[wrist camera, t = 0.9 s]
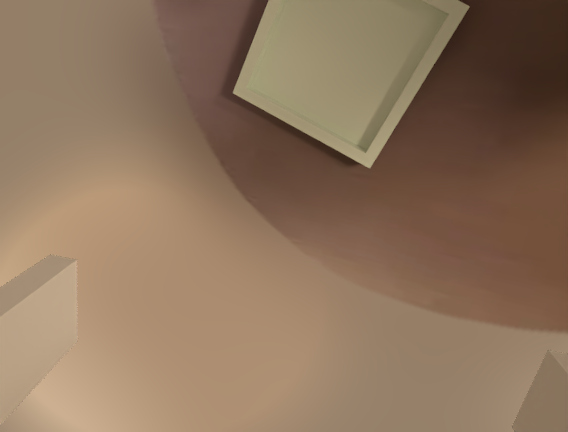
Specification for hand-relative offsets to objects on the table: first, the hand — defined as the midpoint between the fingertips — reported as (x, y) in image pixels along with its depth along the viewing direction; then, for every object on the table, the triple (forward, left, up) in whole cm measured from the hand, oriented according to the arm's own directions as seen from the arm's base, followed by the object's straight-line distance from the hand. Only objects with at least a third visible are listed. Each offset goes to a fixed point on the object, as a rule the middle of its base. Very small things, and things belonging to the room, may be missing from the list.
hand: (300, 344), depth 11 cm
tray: (-5, -5, -28) cm, 29 cm away
